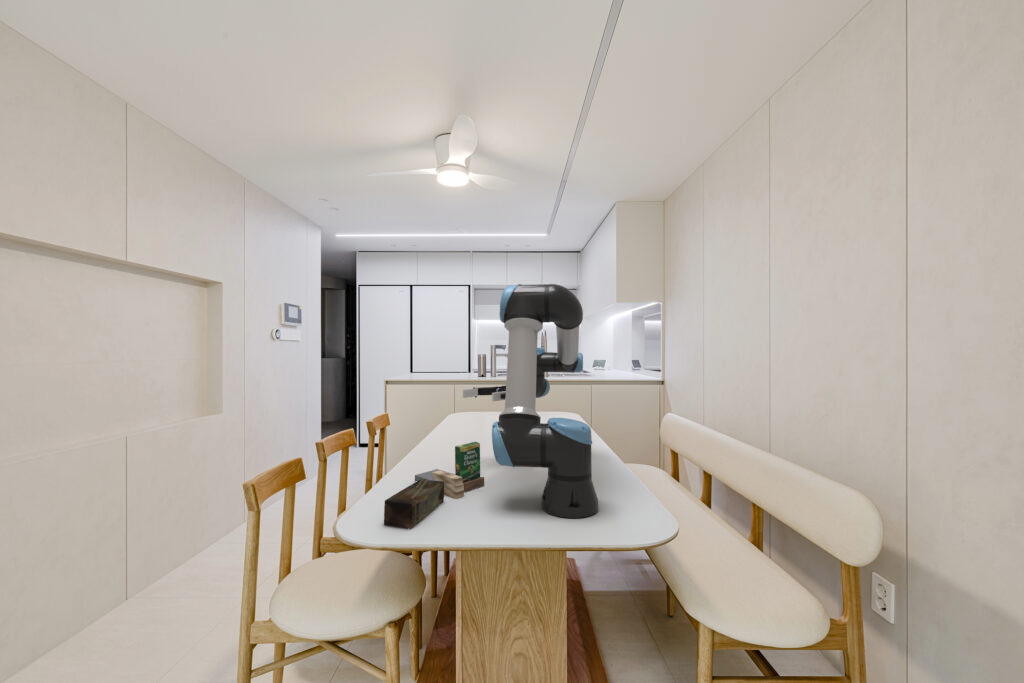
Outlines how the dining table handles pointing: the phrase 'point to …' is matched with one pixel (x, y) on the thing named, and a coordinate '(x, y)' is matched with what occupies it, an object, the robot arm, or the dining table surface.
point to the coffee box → (467, 461)
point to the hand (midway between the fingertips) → (477, 395)
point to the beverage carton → (413, 503)
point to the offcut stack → (450, 483)
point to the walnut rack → (473, 484)
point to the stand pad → (427, 475)
